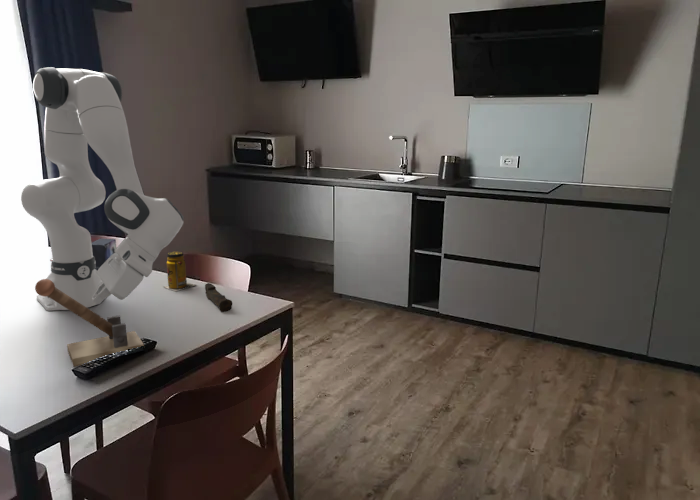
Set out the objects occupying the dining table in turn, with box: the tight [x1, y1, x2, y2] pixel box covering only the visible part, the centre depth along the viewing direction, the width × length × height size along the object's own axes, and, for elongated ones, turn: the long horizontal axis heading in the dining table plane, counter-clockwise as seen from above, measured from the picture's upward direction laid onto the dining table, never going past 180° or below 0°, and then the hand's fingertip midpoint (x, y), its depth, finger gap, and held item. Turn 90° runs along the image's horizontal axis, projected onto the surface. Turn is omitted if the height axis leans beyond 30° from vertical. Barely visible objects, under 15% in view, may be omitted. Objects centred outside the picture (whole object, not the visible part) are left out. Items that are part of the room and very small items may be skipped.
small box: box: [91, 238, 117, 271], centre depth 209 cm, size 11×6×10 cm, turn 179°
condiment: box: [164, 251, 196, 292], centre depth 188 cm, size 7×8×12 cm
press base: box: [66, 315, 145, 368], centre depth 137 cm, size 16×10×8 cm, turn 123°
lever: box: [34, 278, 113, 337], centre depth 133 cm, size 4×4×24 cm
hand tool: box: [204, 282, 233, 313], centre depth 173 cm, size 19×4×5 cm, turn 29°
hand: (94, 301), depth 134 cm, fingers closed
